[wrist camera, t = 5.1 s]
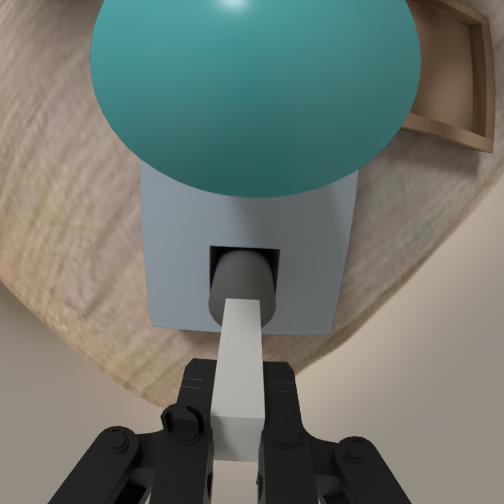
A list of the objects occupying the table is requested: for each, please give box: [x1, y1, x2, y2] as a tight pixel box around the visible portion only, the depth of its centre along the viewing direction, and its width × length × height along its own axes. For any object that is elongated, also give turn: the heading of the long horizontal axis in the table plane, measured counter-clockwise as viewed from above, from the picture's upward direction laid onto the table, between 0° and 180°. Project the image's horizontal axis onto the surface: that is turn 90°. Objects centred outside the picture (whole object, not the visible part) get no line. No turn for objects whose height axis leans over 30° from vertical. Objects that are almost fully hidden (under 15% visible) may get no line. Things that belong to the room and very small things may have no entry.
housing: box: [140, 159, 359, 335], centre depth 18 cm, size 12×18×4 cm, turn 177°
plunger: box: [208, 247, 276, 328], centre depth 17 cm, size 3×3×4 cm
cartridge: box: [90, 0, 421, 198], centre depth 11 cm, size 6×6×15 cm
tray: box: [400, 0, 495, 153], centre depth 15 cm, size 12×12×2 cm
